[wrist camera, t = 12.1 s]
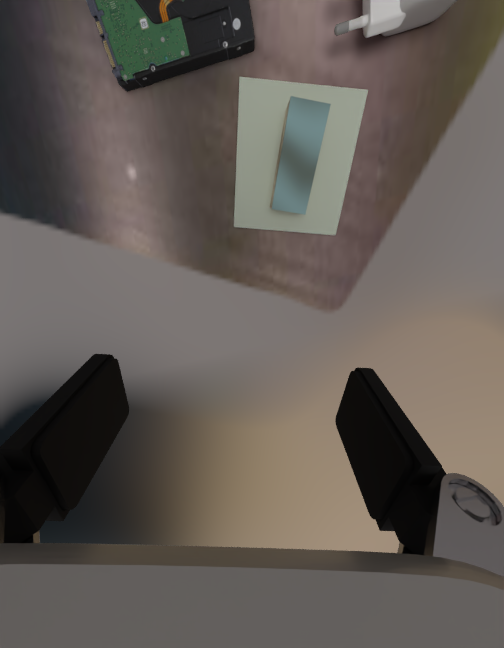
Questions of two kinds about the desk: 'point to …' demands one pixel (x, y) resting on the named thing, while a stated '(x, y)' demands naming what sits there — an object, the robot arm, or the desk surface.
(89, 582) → the robot arm
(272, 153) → the mat
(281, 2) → the desk surface
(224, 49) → the disk drive
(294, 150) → the teal-faced wooden block
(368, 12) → the power adapter
